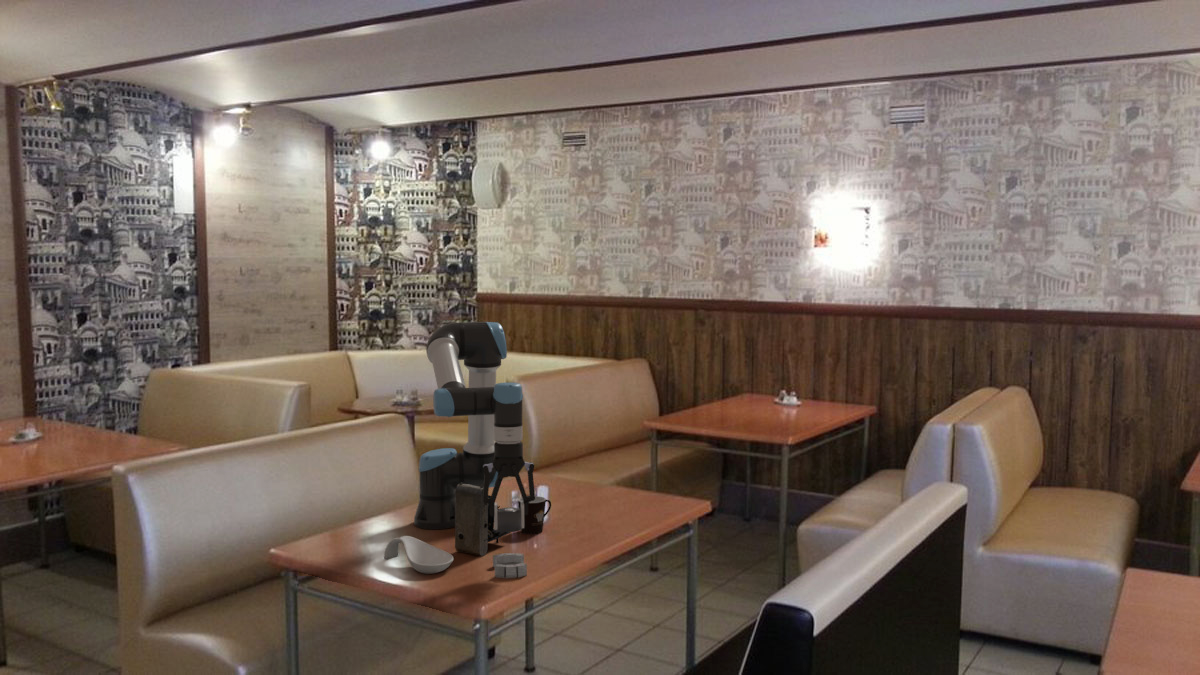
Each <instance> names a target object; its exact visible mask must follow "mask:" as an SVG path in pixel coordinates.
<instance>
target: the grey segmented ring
mask: <svg viewBox="0 0 1200 675" xmlns="http://www.w3.org/2000/svg"><path fill="white" fill-rule="evenodd" d="M527 565H528V564H527V563H525V555H524V553H520V552H518V553H517V552H506V553H505V552H503V553H498V554H494V555H493V554H492V567H493V568H494V578H499V579H516V578H522V577H526V576H528V573H527V572H528V566H527Z"/></svg>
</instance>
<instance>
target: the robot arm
mask: <svg viewBox="0 0 1200 675" xmlns="http://www.w3.org/2000/svg"><path fill="white" fill-rule="evenodd" d="M425 350H426V356H427V359H428V360H429V362H430V363H431V364H432V367H433V372H434V373H433V374H434V378H435V382H436V386H437V389H435V390H434V391H433V396H432V397H433V398H432V400H433V401H432V402H433V404H432V405H433V413H434V415H435V416H437V417H447V418H451V417H462V416H463V417H466V416H468V417H467V418H468V419H467V420H468V422H467V424H468V426H467V429H468V430H467V442H466V443H465V445H463V447H462V452H457V449H455V448H453V447H452V448H451V447H450V448H447V447H445V448H437V449H432V450H429V451H426V452H425V453H423V454H421V456H420V457H419V462H418V463H419V465H418V466H419V467H418V472H419V502H418V505H417V508H416V511H415V514H414V519H413V520H414V526H415V527H417V528H420V529H423V530H424V529H425V530H444V529H445V530H446V529H451V528H455V501H456V493H455V491H456V488H457V485H459V484H460V483H464V484H470V485H473V486H481V485H483V486H484V489H483V502H484V503H488V504H490V516H491V517H492V516H494V529H495V530H497V529H498V518H497V505H498V503H497V502H496V501H497V496H498V495H499V490H500V488H501V485H502V481H503V479H504V478H508V477H511V478H515V481H516V484H517V485H518V489H519V491H520V494H521V497H522V498H523V502H520V505H521V528H524V515H528V503H529V502H530V501H534V500H535V496H536V495H535V484H534V483H535V482H534V469H535V464H534V462H532V461H531V462H527V461H525V459H524V451H523V450H524V449H523V448H524V447H523V446H524V444H523V441H522V440H523V438H524V437H523V436H524V435H523V433H524V432H523V430H524V429H523V399H524V394H523V387H522V384H520V383H518V382H498V383H497V370H498V369H499V368H500V367H501V366H502V360H504V359H507V357H508V356H507V353H508V350H507V341H506V336H505V331H504V329H503V326H502V325H501V324H500V323H499V322H496V321H494V322H493V321H471V322H470V321H469V322H468V321H467V322H465V321H464V322H455V321H454V322H449V323H445V324H444V325H442V326H440V327H438V328H437V329H436V330H435V331H434V332H433V333H431V335H430V337H429V338H428V341H427V343H426V349H425ZM460 361H463V366H464V367H465V368H466V369H468V387H467V386H466V384H465V379H464V376H463V372H462V369H461V365H460ZM524 467H525V471H527V481H528V482H527V483H528V492H529V495H527V493H526V490H525V488H524V484H523V481H522V478H521V475H520V472H521V471H522V469H523V468H524ZM490 488H493V489H492V492H491V495H490V496H491V498H488V495H489V491H490V490H489V489H490Z"/></svg>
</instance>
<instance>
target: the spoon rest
mask: <svg viewBox="0 0 1200 675" xmlns="http://www.w3.org/2000/svg"><path fill="white" fill-rule="evenodd" d="M400 543H402V544H403V547H404V552H405V555H406V558H407V560H408V562H409V565H410V566H411V567H412V569H414V570H415V571H417V572H419V573H421V574H424V575H425V574H427V575H430V574H432V575H433V574H437V573H440V572H443V571H445V570H446V569H447V568H449V567H450V565H452V563H453V561H454V556H453V555H452V554H451V553H450V552H448V551H446V550H443V549H441V548H439V547H437V546H434V545H432V544H429V543H427V542H425V541H423V540H420V539H419V538H416V537H413V536H412V535H411V536H410V535H401V536H400V537H395V538H392V539H391V540H390V541H389V542H388V544H387V545H386V546H385V550H384V553H383V554H384V555H383V558H384V559H385V560H388V559H393V558H397V557H398V556H399V555H400V553H399V552H400V551H399V550H400V548H399V547H400Z"/></svg>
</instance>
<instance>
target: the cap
mask: <svg viewBox="0 0 1200 675" xmlns="http://www.w3.org/2000/svg"><path fill="white" fill-rule="evenodd" d="M497 518H498V529H497V530H498V531H501V532H511V533H514V532H519V531H522V529H521V509H519V507H501V508H498V510H497Z"/></svg>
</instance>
